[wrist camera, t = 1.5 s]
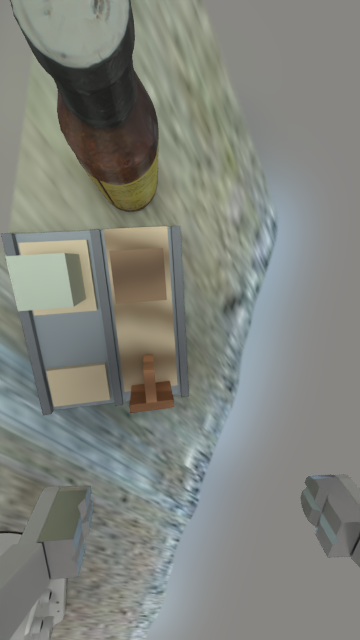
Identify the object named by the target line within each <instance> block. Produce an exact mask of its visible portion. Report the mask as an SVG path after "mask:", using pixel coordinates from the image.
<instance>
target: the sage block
mask: <svg viewBox="0 0 360 640" xmlns="http://www.w3.org/2000/svg"><path fill="white" fill-rule="evenodd" d="M5 257H6V261H7V266H8V270H9V274H10V278H11V283H12V287H13V291H14V296H15V300H16V304H17V308H18V311H28V310H41V309H54V308H66V307H74V306H76V305H77V304H79V303H80V302H82V301H83V300H85V299H86V295H85V288H84V282H83V276H82V269H81V263H80V257H79V254H70V253H57V254H38V255H19V256H5Z"/></svg>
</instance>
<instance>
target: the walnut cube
mask: <svg viewBox="0 0 360 640" xmlns="http://www.w3.org/2000/svg"><path fill="white" fill-rule="evenodd" d="M109 253H110V261H111V269H112V277H113V285H114V293H115V301H116V304H121V303H134V302H147V301H159V300H167V294H166V280H165V266H164V252H163V248H150V249H131V250H112V251H109Z"/></svg>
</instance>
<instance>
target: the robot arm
mask: <svg viewBox="0 0 360 640" xmlns="http://www.w3.org/2000/svg"><path fill="white" fill-rule="evenodd" d="M305 484H306V486H307V487H306V488H305V489H304V490H303V491H302V494H301V504H302V508H303V511H304V513H305V515H306V517H307V519H308V521H309V522H310V523H311V524H313V525H314V526H315V527H316V536H317V538H318V540H319V542H320V544H321V546H322V548H323V550H324V552H325V553H326V555H327V557H329V558H330V557H351V559H352V560H353V561H354V562H355V563H356V564H357V565H358V566H359V567H360V489H359V487H358V486H357V485H356V484H355V482H354V481H353V480H352V479H351V478H350V477H349V476H348V475H344V474H343V475H318V476H308V477H307V478H306V480H305ZM91 494H92V490H91V486H55V487H45V489H44V490H43V491H42V492H41V495H40V497H39V499H38V501H37V503H36V505H35V508H34V510H33V512H32V514H31V516H30V518H29V521H28V523H27V525H26V527H25V529H24V531H23V534H22V535H20V534H13V533H0V640H49V639H50V637H51V634H52V629H53V626H54V625H56V624H58V623H59V622H60V621H62V619H63V617H64V614H65V607H66V583H67V578H72V577H79V574H80V570H81V565H82V561H83V557H84V553H85V544H84V539H85V538H86V537H87V536H88V534H89V532H90V527H91V522H92V515H93V501H92V500H91V499H90V497H91Z"/></svg>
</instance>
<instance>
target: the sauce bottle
mask: <svg viewBox="0 0 360 640" xmlns="http://www.w3.org/2000/svg"><path fill="white" fill-rule="evenodd" d="M10 2H11V6H12V9H13V14H14V17H15V19H16V20H17V22H18V24H19V26H20V28H21V30H22V32H23V34H24V36H25V38H26V40H27V42H28V44H29V46H30V48H31V50H32V52H33V53H34V55H35V57H36V59H37V60H38V62H39V63H40V64H41V66H42V67H43V68H44V69H45V70H46V72H47V73H49V74H50V75H51V76H52V77H53V78H54V80H55V83H56V85H57V88H58V103H57V113H58V119H59V124H60V128H61V131H62V133H63V134H64V136H65V139H66V141H67V142H68V144H69V146H70V147H71V149H72V150H73V152H74V153H75V155H76V157H77V159H78V161H79V162H80V164H81V165H82V167H83V168H84V169H85V171H86V172H87V173H88V175H89V176H90V177H91V179H92V180H93V181H94V183H95V184H96V185H97V187H98V188H99V189H100V191H101V192H102V193H103V195H104V196H105V197H106V199H107V200H108V201H109V202H110V203H111V204H113V205H115V206H116V207H117V208H119V209H121V210H124V211H136V210H140V209H143V208H144V207H145V206H146V205H147V204H148V203H149V202H150V201H151V200H152V198H153V197H154V194H155V191H156V188H157V178H158V139H159V137H158V121H157V116H156V112H155V109H154V106H153V103H152V101H151V99H150V97H149V95H148V93H147V91H146V90H145V88H144V86H143V84H142V83H141V81H140V79H139V78H138V76H137V74H136V72H135V71H134V68H133V61H132V54H133V49H134V41H135V33H134V20H133V13H132V9H131V1H130V0H10Z"/></svg>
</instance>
